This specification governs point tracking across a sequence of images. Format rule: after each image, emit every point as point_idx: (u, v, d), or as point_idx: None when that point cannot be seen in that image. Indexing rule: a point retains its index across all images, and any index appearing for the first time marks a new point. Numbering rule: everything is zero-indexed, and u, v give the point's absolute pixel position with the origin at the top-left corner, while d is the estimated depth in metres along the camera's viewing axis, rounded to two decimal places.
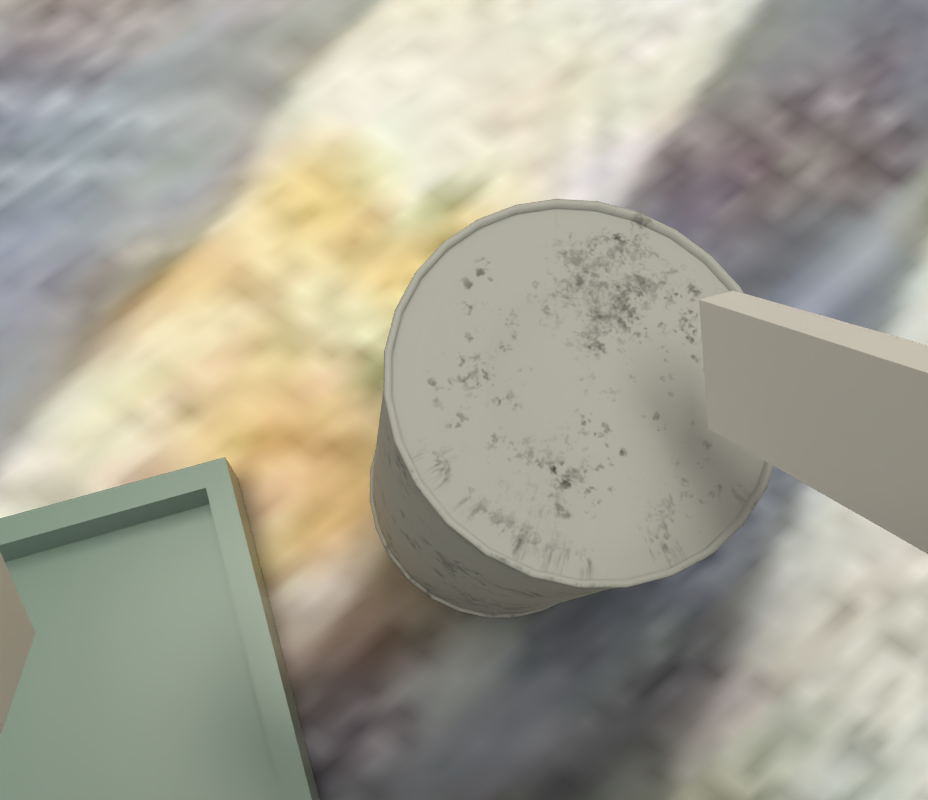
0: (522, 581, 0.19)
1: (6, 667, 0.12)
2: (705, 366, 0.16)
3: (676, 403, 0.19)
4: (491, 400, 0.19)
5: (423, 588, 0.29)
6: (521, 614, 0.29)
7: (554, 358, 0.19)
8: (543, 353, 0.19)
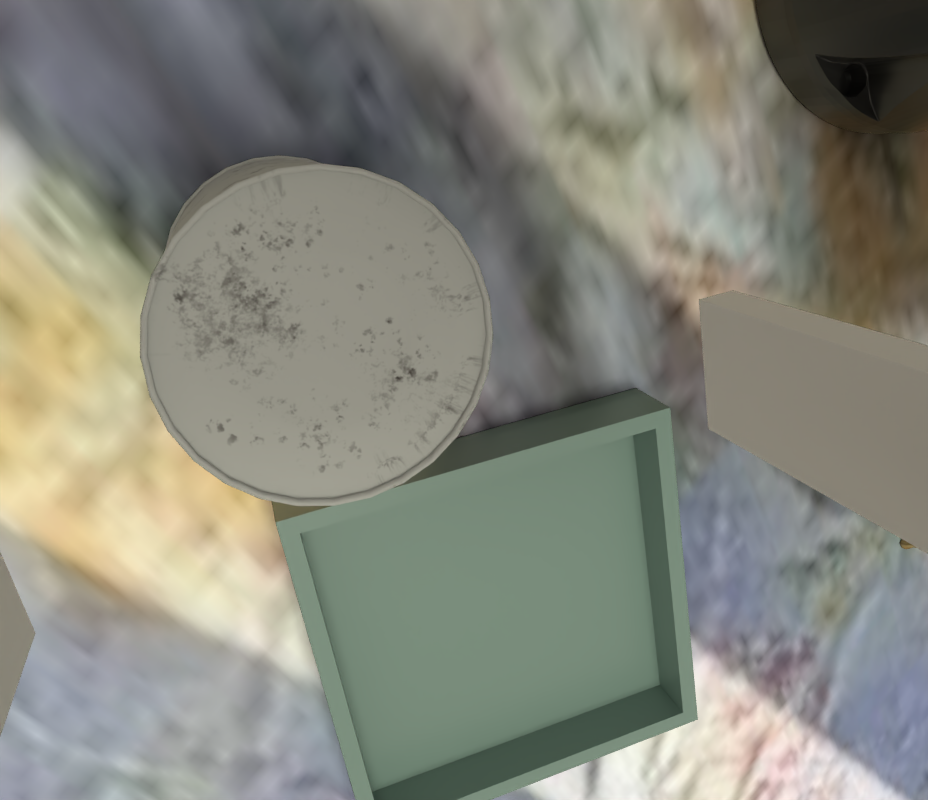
0: None
1: (6, 667, 0.12)
2: (705, 366, 0.16)
3: (349, 266, 0.22)
4: (339, 422, 0.23)
5: None
6: None
7: (303, 368, 0.22)
8: (299, 378, 0.22)
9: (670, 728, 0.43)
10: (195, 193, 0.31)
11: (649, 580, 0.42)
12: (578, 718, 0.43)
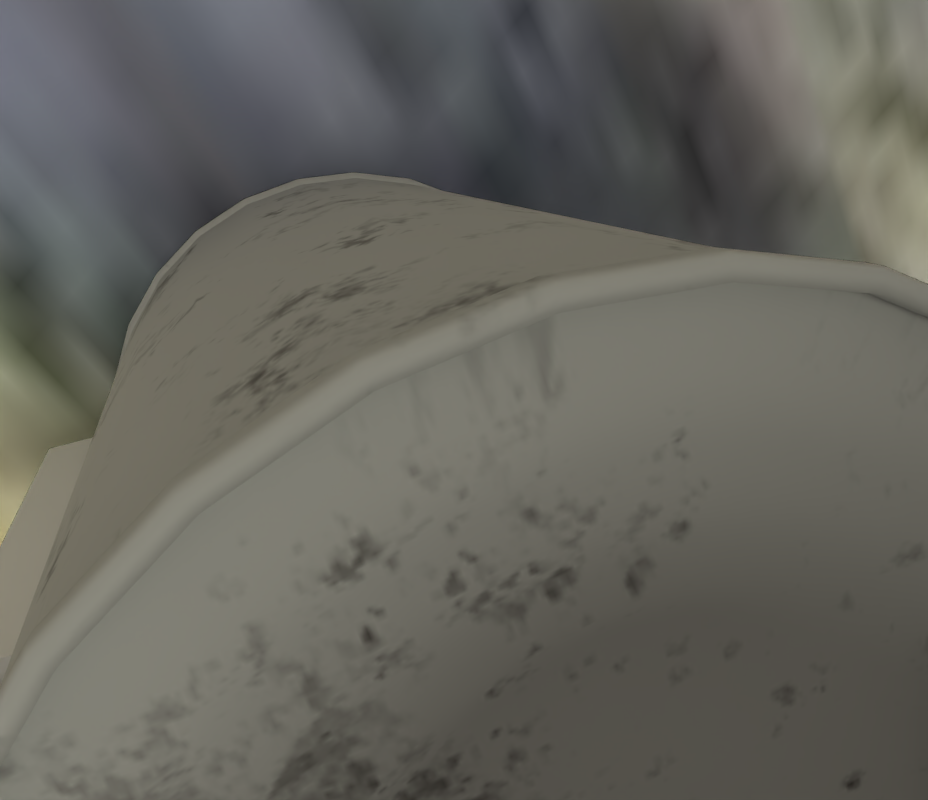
0: None
1: None
2: None
3: (762, 634, 0.06)
4: None
5: None
6: None
7: None
8: None
9: None
10: (179, 253, 0.15)
11: None
12: None
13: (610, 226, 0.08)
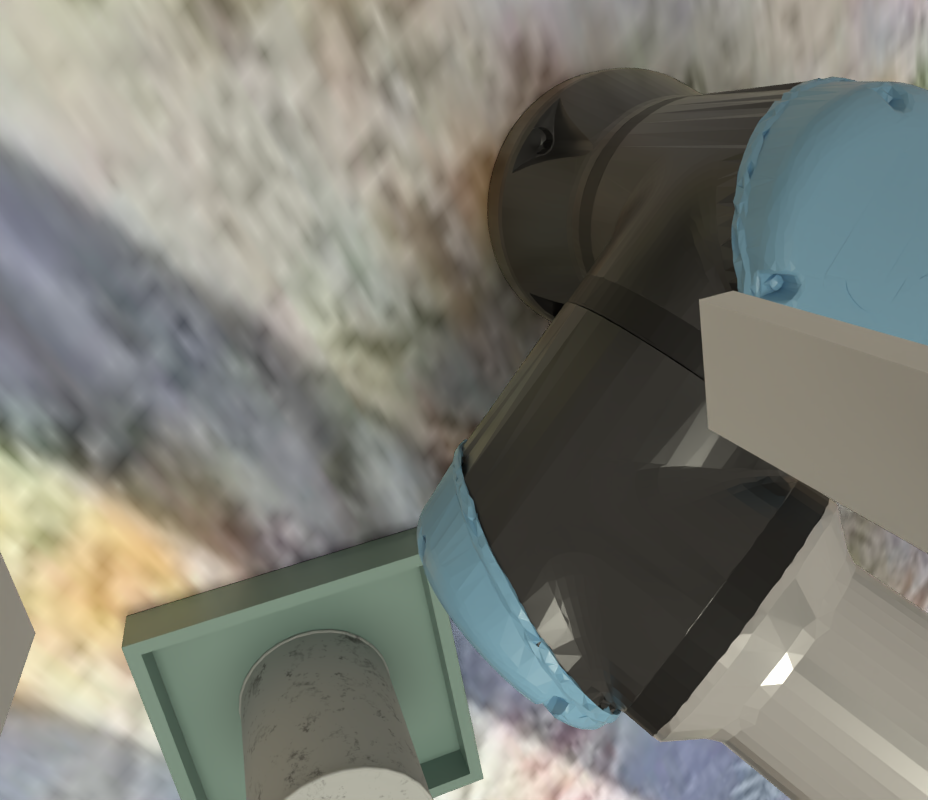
0: None
1: (6, 667, 0.12)
2: (705, 366, 0.16)
3: None
4: None
5: None
6: None
7: None
8: None
9: (460, 786, 0.54)
10: (260, 661, 0.49)
11: (442, 670, 0.54)
12: None
13: (352, 724, 0.42)
